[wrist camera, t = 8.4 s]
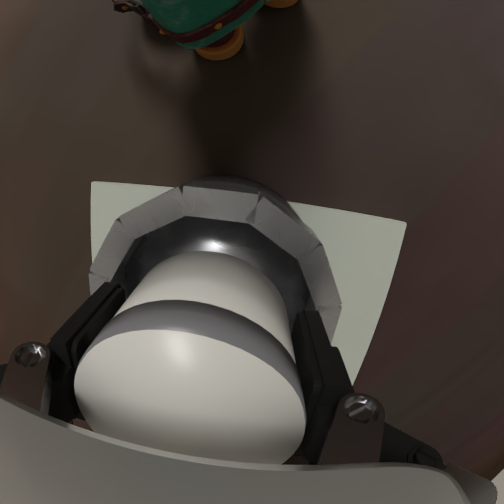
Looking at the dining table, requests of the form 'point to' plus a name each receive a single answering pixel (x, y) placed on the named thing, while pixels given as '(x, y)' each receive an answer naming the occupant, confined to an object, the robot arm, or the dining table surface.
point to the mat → (336, 247)
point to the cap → (197, 365)
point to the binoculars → (201, 21)
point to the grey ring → (223, 241)
